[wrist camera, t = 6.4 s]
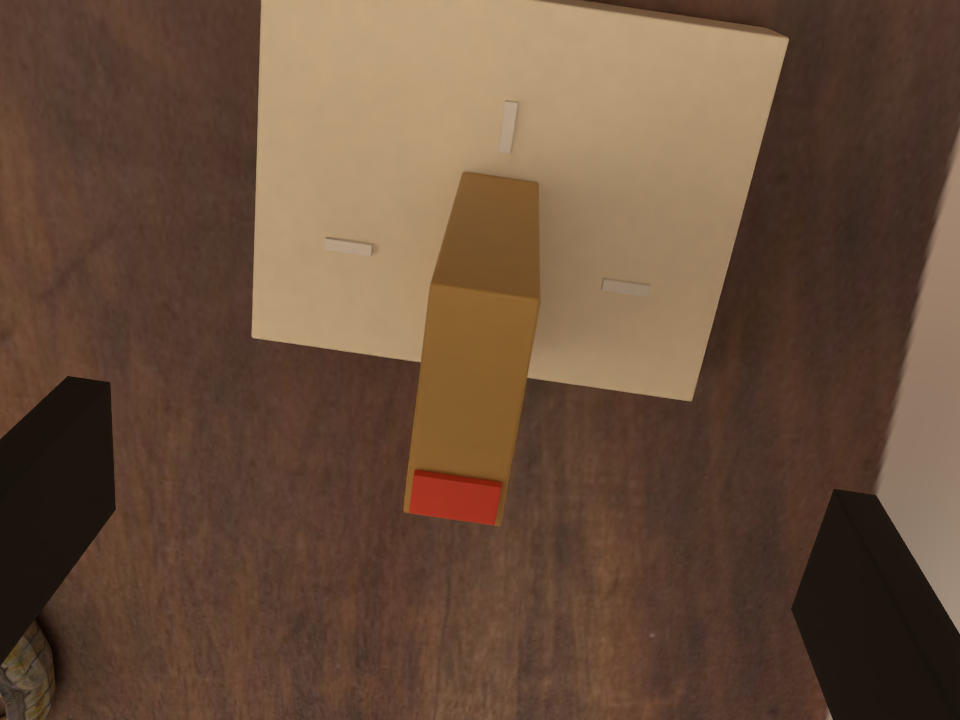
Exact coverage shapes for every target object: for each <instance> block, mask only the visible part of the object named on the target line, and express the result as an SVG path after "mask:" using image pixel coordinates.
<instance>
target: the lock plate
mask: <svg viewBox="0 0 960 720" xmlns="http://www.w3.org/2000/svg"><path fill="white" fill-rule="evenodd" d="M788 42H789V38H787V37H785V36H783V35H781V34H779V33H777V32H774V31H772V30H770V29H768V28H764V27H757V26H750V25H744V24H737V23H730V22H724V21H717V20H710V19H704V18H697V17H690V16H683V15H677V14H670V13H663V12H657V11H650V10H643V9H637V8H630V7H623V6H617V5H610V4H603V3H596V2H590V1H583V0H261V27H260V62H259V97H258V132H257V167H256V202H255V237H254V272H253V308H252V338H257V339H264V340H271V341H278V342H285V343H292V344H299V345H305V346H312V347H319V348H326V349H333V350H340V351H347V352H354V353H361V354H367V355H374V356H381V357H388V358H395V359H402V360H409V361H416V362H421V356H422V347H423V339H424V331H425V322H426V314H427V305H428V297H429V289H430V283H431V280H432V276H433V273H434V269H435V266H436V262H437V259H438V255H439V252H440V248H441V245H442V241H443V238H444V235H445V231H446V228H447V224H448V221H449V217H450V214H451V210H452V207H453V203H454V200H455V196H456V193H457V189H458V186H459V182H460V179H461V175H462V173H463V172H470V173H477V174H483V175H490V176H497V177H504V178H511V179H517V180H524V181H531V182H537V183H538V185H539V237H540V295H541V302H540V308H539V314H538V319H537V325H536V331H535V336H534V342H533V347H532V353H531V359H530V364H529V370H528V376H527V378H533V379H540V380H547V381H554V382H560V383H567V384H574V385H581V386H588V387H595V388H602V389H609V390H616V391H622V392H629V393H636V394H643V395H650V396H657V397H664V398H671V399H678V400H684V401H692V399H693V395H694V391H695V388H696V384H697V380H698V377H699V373H700V369H701V365H702V362H703V358H704V354H705V350H706V347H707V343H708V339H709V336H710V332H711V328H712V324H713V321H714V317H715V313H716V310H717V306H718V302H719V298H720V295H721V291H722V287H723V284H724V280H725V276H726V272H727V269H728V265H729V261H730V257H731V254H732V250H733V246H734V243H735V239H736V235H737V231H738V228H739V224H740V220H741V217H742V213H743V209H744V205H745V202H746V198H747V194H748V191H749V187H750V183H751V179H752V176H753V172H754V168H755V164H756V161H757V157H758V153H759V150H760V146H761V142H762V138H763V135H764V131H765V127H766V124H767V120H768V116H769V112H770V109H771V105H772V101H773V98H774V94H775V90H776V86H777V83H778V79H779V75H780V71H781V68H782V64H783V60H784V57H785V53H786V49H787V45H788Z"/></svg>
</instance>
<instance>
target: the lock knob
mask: <svg viewBox="0 0 960 720" xmlns="http://www.w3.org/2000/svg"><path fill="white" fill-rule="evenodd" d="M540 302H541V295H540V237H539V185H538V183H537V182H531V181H524V180H517V179H511V178H504V177H497V176H490V175H483V174H477V173H470V172H463V173H462V175H461V179H460V182H459V186H458V189H457V193H456V196H455V200H454V203H453V207H452V210H451V214H450V217H449V221H448V224H447V228H446V231H445V235H444V238H443V241H442V245H441V248H440V252H439V255H438V259H437V262H436V266H435V269H434V273H433V276H432V280H431V283H430V289H429V297H428V305H427V314H426V322H425V331H424V339H423V347H422V356H421V364H420V372H419V381H418V389H417V398H416V406H415V414H414V423H413V431H412V439H411V448H410V456H409V465H408V473H407V481H406V490H405V498H404V507H403V510H404V512H406V513H411V514H418V515H425V516H432V517H439V518H446V519H453V520H460V521H467V522H474V523H481V524H488V525H495V526H500V524H501V522H502V517H503V511H504V505H505V500H506V494H507V488H508V483H509V477H510V471H511V466H512V460H513V455H514V449H515V443H516V438H517V432H518V426H519V421H520V415H521V409H522V404H523V398H524V393H525V387H526V381H527V376H528V370H529V364H530V359H531V353H532V347H533V342H534V336H535V331H536V325H537V319H538V314H539V308H540Z"/></svg>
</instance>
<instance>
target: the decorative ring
mask: <svg viewBox="0 0 960 720" xmlns="http://www.w3.org/2000/svg"><path fill="white" fill-rule="evenodd" d="M54 696H55V676H54V666H53V656H52V649H51V647H50V645H49V643H48V641H47V640H46V638H45V636H44V634H43V632H42V630H41V629H40V627H39V625H38V623H37V621H36V620H34V621H33V623H32V624H31V625H30V627H29V628H28V629H27V631H26V632H25V633H24V635H23V636H22V637H21V639H20V640H19V642H18V643H17V644H16V646H15V647H14V648H13V650H12V651H11V652H10V654H9V655H8V657H7V658H6V659H5V661H4V662H3V663H2V665H1V666H0V699H1V700H2V702H3V704H4V705H5V709H6V715H3V716H0V720H46V718H47V715H48V713H49V710H50V708H51V705H52V702H53V699H54Z"/></svg>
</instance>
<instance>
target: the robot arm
mask: <svg viewBox="0 0 960 720" xmlns="http://www.w3.org/2000/svg"><path fill="white" fill-rule="evenodd" d="M115 510H116V508H115V485H114V461H113V437H112V413H111V389H110V382H104V381H98V380H91V379H84V378H77V377H70V376H67V377H66V378H65V379H64V380H63V381H62V382H61V383H60V384H59V385H58V386H57V387H56V388H55V389H54V390H52V391H51V392H50V393H49V394H48V395H47V396H46V397H45V398H44V399H43V400H42V401H41V402H40V403H39V404H38V405H37V406H35V407H34V408H33V409H32V410H31V411H30V412H29V413H28V414H27V415H26V416H25V417H24V418H23V419H22V420H21V421H19V422H18V423H17V424H16V425H15V426H14V427H13V428H12V429H11V430H10V431H9V432H8V433H7V434H6V435H5V436H3V437H2V438H1V439H0V666H1V665H2V663H3V662H4V661H5V659H6V658H7V657H8V655H9V654H10V652H11V651H12V650H13V648H14V647H15V646H16V644H17V643H18V642H19V640H20V639H21V637H22V636H23V635H24V633H25V632H26V631H27V629H28V628H29V627H30V625H31V624H32V623H33V621H34V620H35V618H36V617H37V616H38V614H39V613H40V612H41V610H42V609H43V608H44V606H45V605H46V603H47V602H48V601H49V599H50V598H51V597H52V595H53V594H54V593H55V591H56V590H57V589H58V587H59V586H60V584H61V583H62V582H63V580H64V579H65V578H66V576H67V575H68V574H69V572H70V571H71V569H72V568H73V567H74V565H75V564H76V563H77V561H78V560H79V559H80V557H81V556H82V555H83V553H84V552H85V550H86V549H87V548H88V546H89V545H90V544H91V542H92V541H93V540H94V538H95V537H96V535H97V534H98V533H99V531H100V530H101V529H102V527H103V526H104V525H105V523H106V522H107V520H108V519H109V518H110V516H111V515H112V514H113V512H114V511H115ZM791 609H792V612H793V615H794V617H795V620H796V623H797V625H798V628H799V631H800V633H801V636H802V639H803V641H804V644H805V647H806V649H807V652H808V655H809V657H810V660H811V663H812V665H813V668H814V671H815V673H816V676H817V679H818V681H819V684H820V687H821V689H822V692H823V695H824V697H825V700H826V703H827V705H828V708H829V711H830V713H831V716H832V718H833V720H960V634H959V632H958V630H957V629H956V627H955V626H954V624H953V622H952V620H951V619H950V618H949V615H948V614H947V612H946V611H945V609H944V607H943V606H942V604H941V602H940V601H939V599H938V597H937V596H936V594H935V592H934V591H933V589H932V587H931V586H930V584H929V582H928V581H927V579H926V577H925V576H924V574H923V572H922V571H921V569H920V567H919V566H918V564H917V562H916V561H915V559H914V557H913V556H912V554H911V552H910V551H909V549H908V548H907V546H906V544H905V542H904V541H903V539H902V538H901V536H900V534H899V533H898V531H897V529H896V528H895V526H894V524H893V523H892V521H891V519H890V518H889V516H888V514H887V513H886V511H885V509H884V508H883V506H882V504H881V503H880V501H879V499H878V498H877V496H876V495H871V494H864V493H858V492H851V491H844V490H837V489H834V490H833V493H832V496H831V499H830V502H829V504H828V507H827V510H826V513H825V516H824V518H823V521H822V524H821V527H820V530H819V532H818V535H817V538H816V541H815V544H814V546H813V549H812V552H811V555H810V558H809V560H808V563H807V566H806V569H805V572H804V574H803V577H802V580H801V583H800V586H799V588H798V591H797V594H796V597H795V600H794V602H793V605H792V608H791Z"/></svg>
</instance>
